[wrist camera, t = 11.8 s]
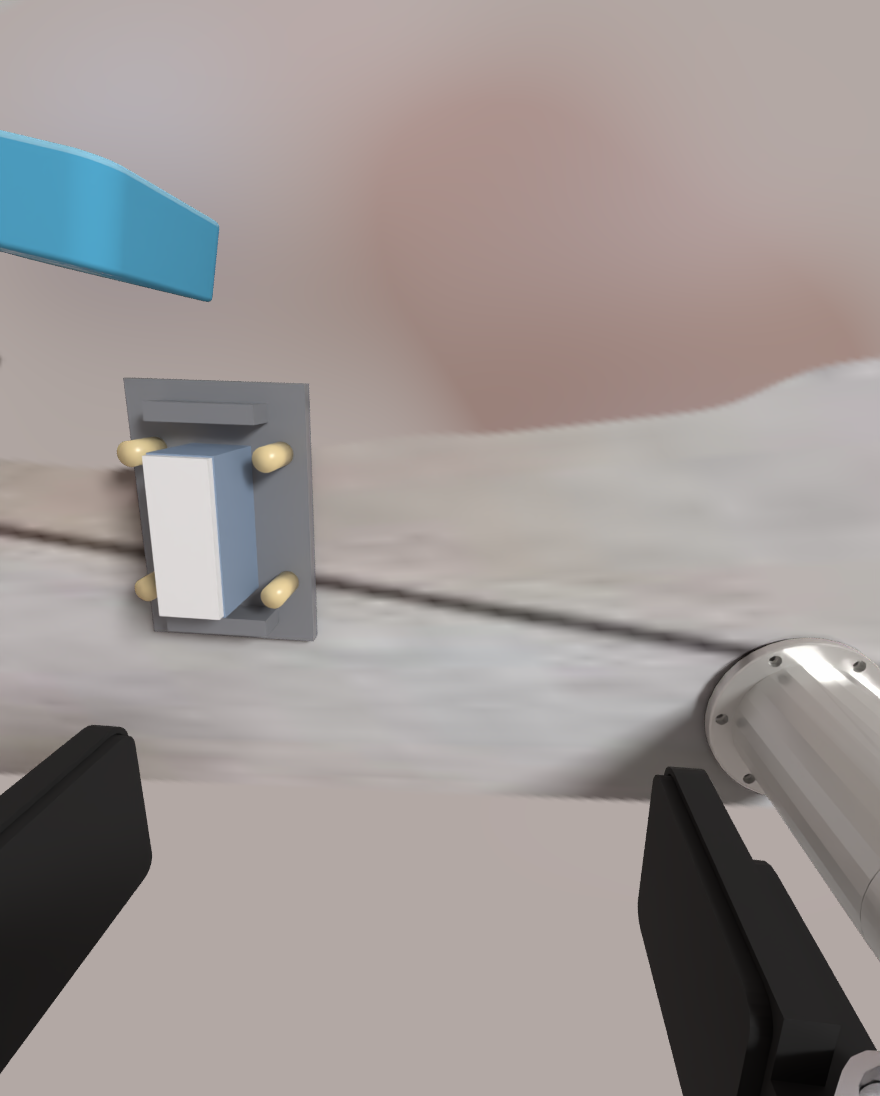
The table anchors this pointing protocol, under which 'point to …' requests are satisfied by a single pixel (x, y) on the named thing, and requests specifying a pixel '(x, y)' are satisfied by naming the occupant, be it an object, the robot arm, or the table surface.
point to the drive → (201, 528)
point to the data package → (101, 219)
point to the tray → (278, 485)
